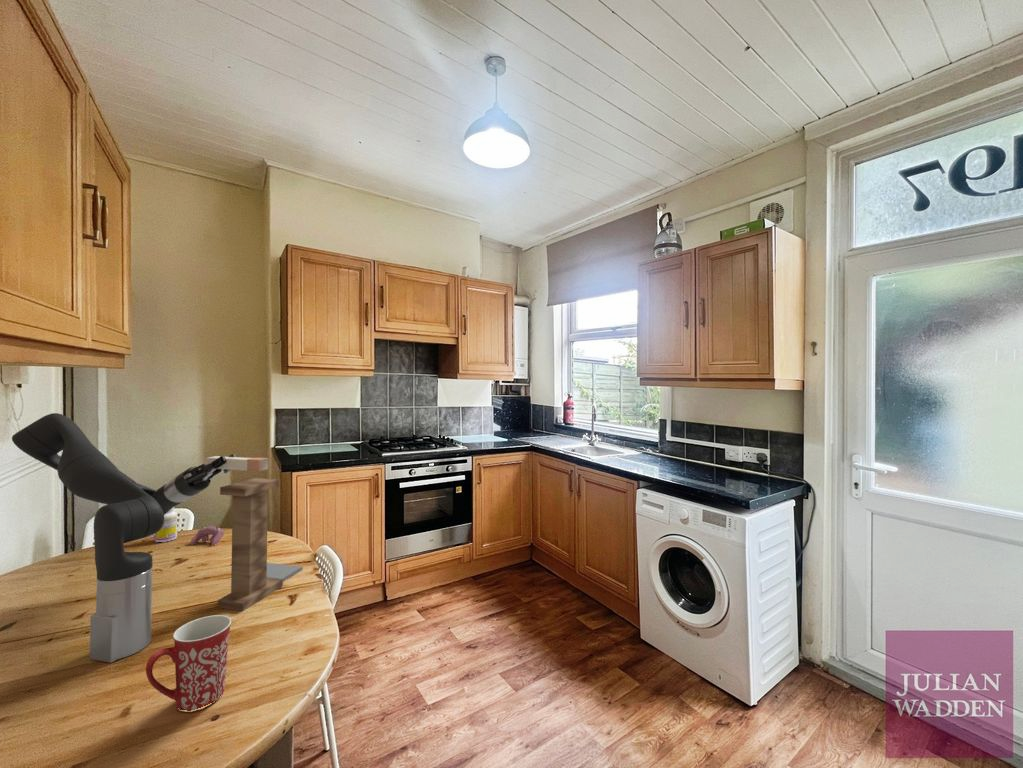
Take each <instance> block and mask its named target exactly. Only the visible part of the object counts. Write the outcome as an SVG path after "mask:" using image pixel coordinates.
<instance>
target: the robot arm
mask: <svg viewBox="0 0 1023 768" xmlns="http://www.w3.org/2000/svg"><path fill="white" fill-rule="evenodd" d="M11 441H12V442H13V445H15V446H16V447H17V448H18V449H19V450H20V451H22V452H23V453H25V454H26V455H28V456H30V457H32V458H33V459H34V460H37V461H39V462H41V463H42V464H45V465H46V466H48V467H50V468H53V469H54V470H56V471H57V476H58V478H59V480H60V481H61V483H62V484H63V485H64V486H65V487H66V489H68V491H69V492H71V494H73V495H75V496H76V497H78V498H82V499H85V500H88V501H91V502H94V503H100V504H104V505H102V506H101V507H99V508H98V510H96V513H95V514H94V519H93V539H94V564H95V568H96V593H95V594H96V595H95V596H96V597H95V598H96V600H95V613H93V614H91V615H90V620H89V621H90V622H89V625H90V626H89V627H90V628H89V631H90V632H89V660H93V661H99V662H105V663H113V662H115V661H117V660H121V659H122V658H127V657H130V656H131V655H134V654H136V653H138V652H140V651H142V650H143V649H144V648H146V647H147V646H148V645H149V644H150V643H151V641H152V610H153V609H152V607H153V606H152V605H153V604H152V602H153V600H152V597H153V556H152V554H150V553H148V552H143V551H125V548H124V544H126V543H130V542H133V541H137V540H140V539H141V540H142V539H146V538H147V537H150V536H153V535H155V533H157V532H158V531H159V530H160V529H161V528H162V526H163V524H164V515H165V514H166V513H167V512H168V511H169V510H170V509H172V508H173V507H174V508H175V507H177V506H178V505H180V504H181V503H183V502H185V501H187V500H190V499H192V498H193V497H194V496H196V495H197V494H199V493H201V492H202V491H204V490H205V489H207V488H208V487H209V486H210V485H211V481H212V480H214V478H216V477H217V476H219V475H221V474H222V473H223V474H227V473H229V472H230V470H229V469H216V468H219V467H220V466H222V465H223V464H225V463H226V462H227V461H226V458H225V457H226V456H225V455H222V456H221V455H220V456H221V457H219V458H218V459H216V460H214V461H213V462H209V463H208V464H206V463H202V464H200V465H198V466H192V467H189V468H187V469H186V470H184V471H183V472H181V473H180V474H178V475H176V476H175V477H173V478H171V479H170V480H169V481H168V482H167V483H166V484H163V485H162V486H161V487H159V488H157V490H156V489H153V488H151V487H149V486H145V485H143V484H140V483H138V482H136V481H135V480H134V479H133V478H131V477H130V476H128V475H127V474H125V473H123V471H121V470H120V469H118V467H117V466H116V465H115V464H114V463H113V462H112V461H111V460H110V459H109V458H108V457H107V456H106V455H105V454H103V453H102V452H101V451H100V450H99V449H98V448H97V447H96V446H95V445H94V444H93V442H91V441H90V439H89V438H88V437H87V435H86V434H85V433H84V431H83V430H82V429H81V428H80V427H79V426H78V425H77V424H76V422H74V421H73V419H71V418H69V417H68V416H66V415H64V414H61V413H57V412H53V413H48V414H46V415H44V416H42V417H40V418H39V419H37V420H35V421H34V422H31V423H30V424H29V425H27V426H25V427H24V428H22V429H20V430H19V431H17V432H15V433H14V434H13V435H12V436H11ZM60 452H61V454H60V455H59V453H60ZM228 457H237V454H235V453H232V454H230V455H228Z"/></svg>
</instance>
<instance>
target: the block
mask: <svg viewBox="0 0 1023 768" xmlns="http://www.w3.org/2000/svg"><path fill="white" fill-rule="evenodd" d="M219 457H221V455H214V456H210V457H206V461H205V462H206V463H205V464H208V463H209V462H213V461H214V460H216V459H218V458H219ZM225 458H226V461H227V462H226V463H225V464H223V465H222V466H220V467H219V468H216V469H229V471H230V470H231V471H247V472H248V471H249V472H262V471H263V472H264V471H267V470H269V457H242V456H241V457H238V456H236V457H229V456H225Z"/></svg>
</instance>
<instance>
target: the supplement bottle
mask: <svg viewBox="0 0 1023 768" xmlns="http://www.w3.org/2000/svg"><path fill="white" fill-rule="evenodd" d="M174 510H175V507H173V508H172V509H170V510H169V511H168V512H167V513H166V514H165V515H164V524H163V526H162V528H161V529H160V530H159V531H158V532H157V533H155V534H154V541H155V542H156V543H158V542H162V543H167V541H168V542H172V541H174V540H175V539H177V538H178V513H177V512H176V511H174ZM171 540H172V541H171Z"/></svg>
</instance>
